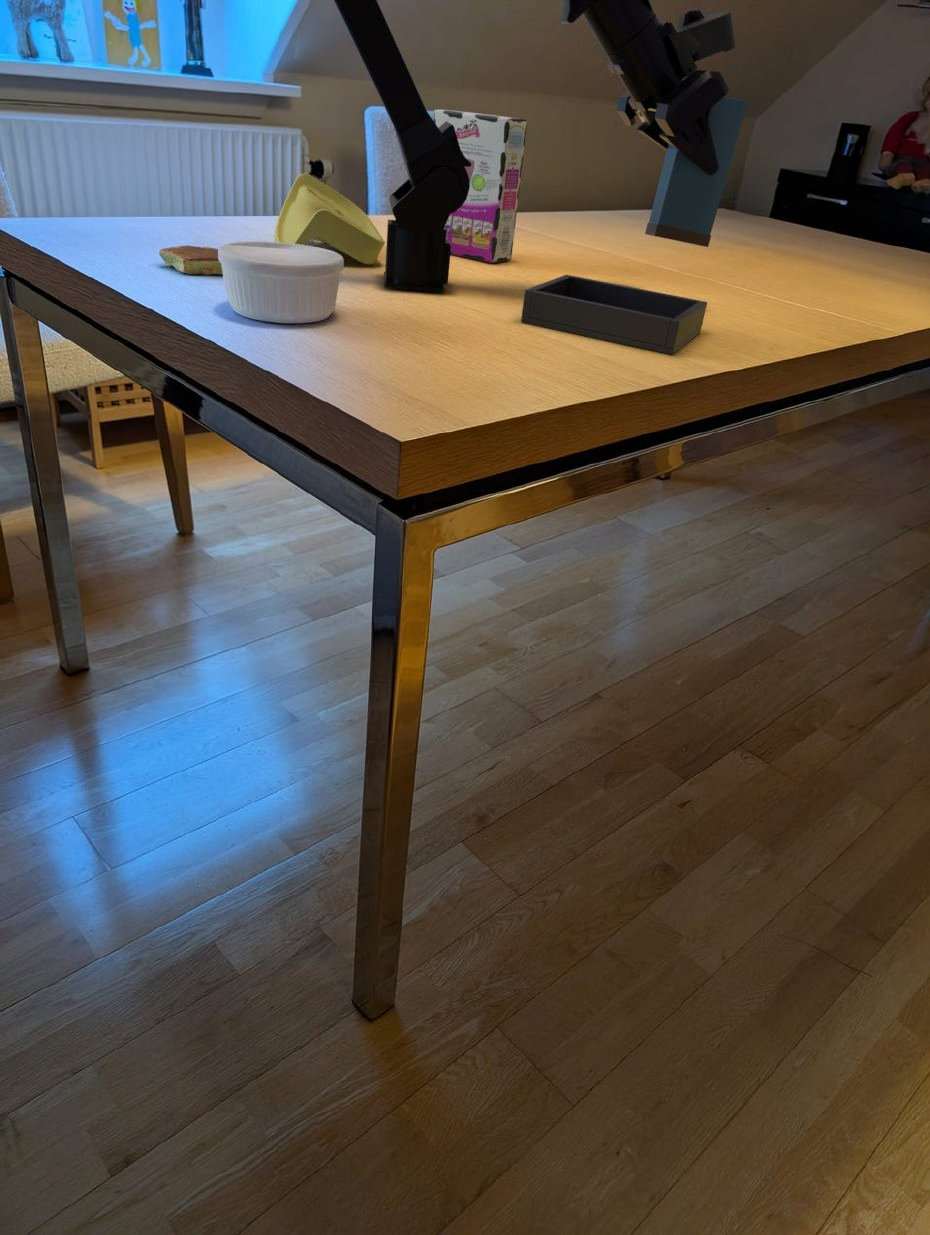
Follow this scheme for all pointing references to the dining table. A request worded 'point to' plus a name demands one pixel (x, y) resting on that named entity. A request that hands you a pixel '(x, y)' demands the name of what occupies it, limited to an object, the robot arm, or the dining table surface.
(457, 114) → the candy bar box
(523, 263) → the dining table surface
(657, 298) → the dark grey tray
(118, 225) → the dining table surface
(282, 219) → the plastic component
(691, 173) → the blue rectangular block
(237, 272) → the ramekin
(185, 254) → the brown and green slab
